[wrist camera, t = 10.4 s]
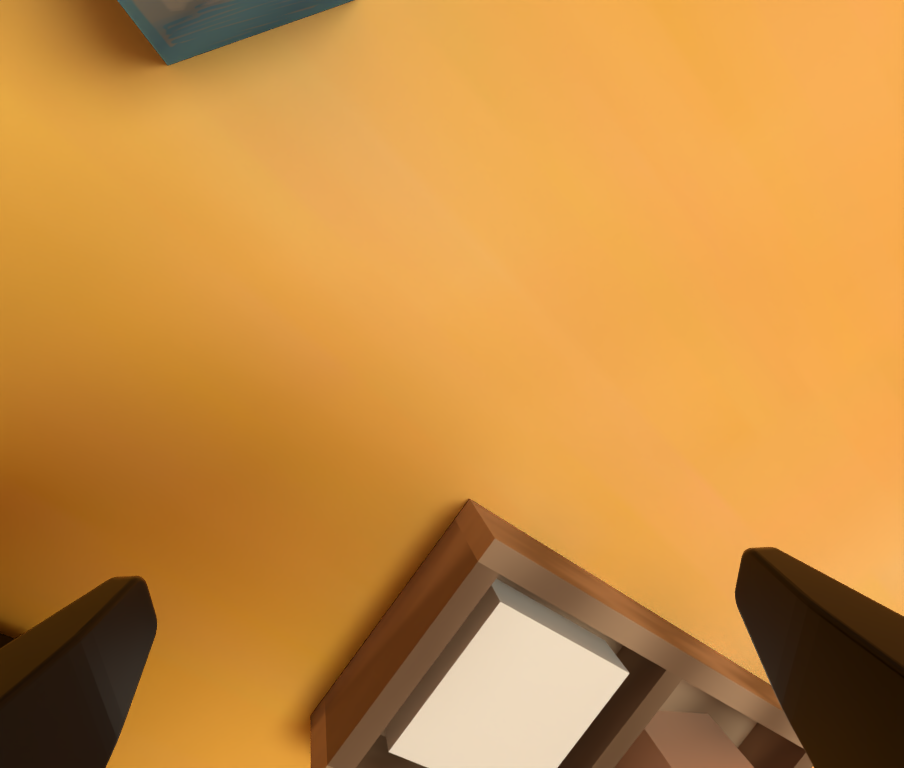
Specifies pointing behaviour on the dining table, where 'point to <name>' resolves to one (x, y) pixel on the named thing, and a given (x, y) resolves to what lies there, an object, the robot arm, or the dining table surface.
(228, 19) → the perfume bottle
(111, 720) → the robot arm
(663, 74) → the dining table surface
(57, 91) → the dining table surface
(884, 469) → the dining table surface
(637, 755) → the clay blank
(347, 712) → the rack
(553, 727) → the napkin stack
